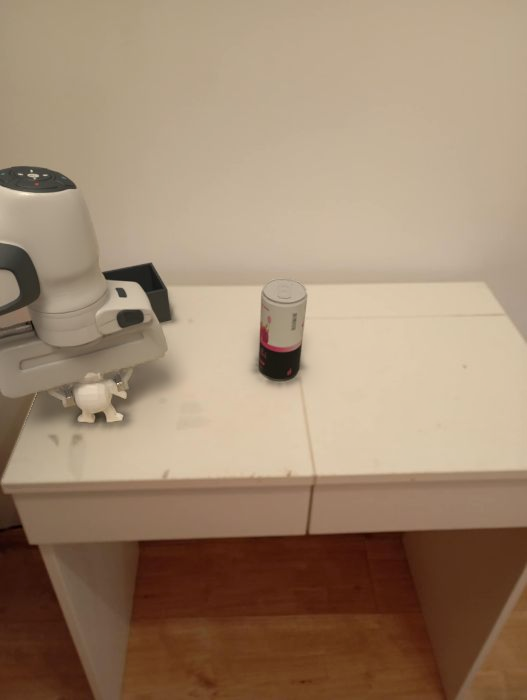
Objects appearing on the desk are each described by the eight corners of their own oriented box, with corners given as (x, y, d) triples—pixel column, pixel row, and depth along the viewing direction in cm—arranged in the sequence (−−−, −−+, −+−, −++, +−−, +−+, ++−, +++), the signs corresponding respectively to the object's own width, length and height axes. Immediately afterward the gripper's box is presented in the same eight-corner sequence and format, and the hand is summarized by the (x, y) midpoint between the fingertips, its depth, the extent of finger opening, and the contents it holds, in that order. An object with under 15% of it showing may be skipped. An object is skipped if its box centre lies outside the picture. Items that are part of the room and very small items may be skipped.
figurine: (132, 406, 68) (118, 343, 61) (127, 431, 65) (111, 367, 57) (76, 407, 68) (53, 344, 60) (67, 433, 64) (43, 368, 57)
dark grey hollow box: (115, 333, 81) (108, 302, 77) (103, 302, 88) (96, 272, 84) (171, 319, 85) (167, 289, 81) (155, 291, 92) (151, 262, 87)
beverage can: (256, 380, 74) (259, 301, 64) (260, 353, 79) (263, 275, 69) (298, 383, 73) (307, 304, 64) (299, 356, 78) (307, 278, 69)
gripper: (-27, 351, 49) (15, 437, 58) (164, 306, 56) (175, 388, 65) (-28, 318, 53) (11, 402, 62) (150, 280, 60) (162, 360, 69)
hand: (96, 395), depth 63 cm, fingers closed on figurine, 5 cm apart
